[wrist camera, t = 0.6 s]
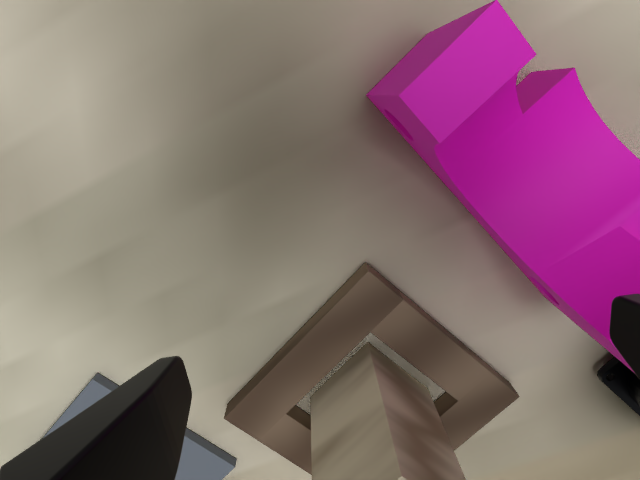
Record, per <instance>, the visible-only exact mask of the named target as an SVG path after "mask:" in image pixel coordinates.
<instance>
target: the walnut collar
mask: <svg viewBox="0 0 640 480" xmlns="http://www.w3.org/2000/svg"><path fill="white" fill-rule="evenodd" d="M370 332H371V333H372V334H374V335H375V336H376V337H377V338H379V339H380V340H381V341H382V342H384V343H385V344H386V345H388V346H389V347H390V348H391V349H393V350H394V351H395V352H396V353H398V354H399V355H400V356H402V357H403V358H404V359H405V360H407V361H408V362H409V363H410V364H412V365H413V366H414V367H416V368H417V369H418V370H419V371H421V372H422V373H423V374H424V375H426V376H427V377H428V378H430V379H431V380H432V381H433V382H435V383H436V384H437V385H438V386H440V387H441V388H442V389H444V390H445V391H446V393H444V394H443V395H442V396H441V397H440V398H439V399H438V400H436V401H435V402H434V405H435V407H436V409H437V412H438V414H439V417H440V419H441V421H442V424H443V426H444V429H445V431H446V433H447V436H448V438H449V441H450V443H451V445H452V448H453V450H455V449H457V448H458V447H459V446H460V445H461V444H463V443H464V442H465V441H466V440H468V439H469V438H470V437H471V436H472V435H474V434H475V433H476V432H477V431H478V430H480V429H481V428H482V427H483V426H484V425H486V424H487V423H488V422H489V421H491V420H492V419H493V418H494V417H495V416H497V415H498V414H499V413H500V412H501V411H503V410H504V409H505V408H506V407H507V406H509V405H510V404H511V403H512V402H514V401H515V400H516V399H517V398H518V397H520V396H519V395H518V394H517V392H516V391H515V389H514V388H513V387H512V385H511V384H510V383H509V382H508V381H507V380H506V379H505V378H503V377H502V376H501V375H500V374H499V373H497V372H496V371H495V370H494V369H493V368H491V367H490V366H489V365H488V364H487V363H485V362H484V361H483V360H482V359H481V358H479V357H478V356H477V355H476V354H475V353H473V352H472V351H471V350H470V349H469V348H467V347H466V346H465V345H464V344H463V343H461V342H460V341H459V340H458V339H457V338H456V337H454V336H453V335H452V334H451V333H450V332H448V331H447V330H446V329H445V328H444V327H442V326H441V325H440V324H439V323H438V322H436V321H435V320H434V319H433V318H432V317H430V316H429V315H428V314H427V313H426V312H424V311H423V310H422V309H421V308H420V307H418V306H417V305H416V304H415V303H414V302H412V301H411V300H410V299H409V298H408V297H406V296H405V295H404V294H403V293H402V292H401V291H399V290H398V289H397V288H396V287H395V286H393V285H392V284H391V283H390V282H389V281H387V280H386V279H385V278H384V277H383V276H381V275H380V274H379V273H378V272H377V271H375V270H374V269H373V268H372V267H371V266H369V265H368V264H367V263H366V262H365V263H364V264H363V265H362V266H361V267H360V268H359V269H358V270H357V271H356V273H355V274H354V275H353V276H352V277H351V278H350V279H349V280H348V281H347V282H346V283H345V284H344V285H343V286H342V287H341V288H340V289H339V290H338V291H337V292H336V293H335V294H334V295H333V296H332V297H331V298H330V299H329V300H328V301H327V302H326V303H325V304H324V305H323V306H322V307H321V308H320V309H319V311H318V312H317V313H316V314H315V315H314V316H313V317H312V318H311V319H310V320H309V321H308V322H307V323H306V324H305V325H304V326H303V327H302V328H301V329H300V330H299V331H298V332H297V333H296V334H295V335H294V336H293V337H292V338H291V339H290V340H289V341H288V342H287V343H286V344H285V345H284V346H283V347H282V349H281V350H280V351H279V352H278V353H277V354H276V355H275V356H274V357H273V358H272V359H271V360H270V361H269V362H268V363H267V364H266V365H265V366H264V367H263V368H262V369H261V370H260V371H259V372H258V373H257V374H256V375H255V376H254V377H253V378H252V379H251V380H250V381H249V382H248V383H247V384H246V385H245V387H244V388H243V389H242V390H241V391H240V392H239V393H238V394H237V395H236V396H235V397H234V398H233V399H232V400H231V401H230V402H229V403H228V404H227V408H226V412H225V416H224V419H226V420H227V421H229V422H230V423H232V424H233V425H235V426H236V427H238V428H239V429H241V430H243V431H244V432H246V433H247V434H249V435H250V436H252V437H253V438H255V439H257V440H258V441H260V442H261V443H263V444H264V445H266V446H267V447H269V448H271V449H272V450H274V451H275V452H277V453H278V454H280V455H281V456H283V457H285V458H286V459H288V460H289V461H291V462H292V463H294V464H295V465H297V466H299V467H300V468H302V469H303V470H305V471H306V472H308V473H309V474H311V475H312V460H311V416H310V415H309V414H307V413H306V412H304V411H303V410H301V409H300V408H298V407H297V406H295V405H296V404H297V403H298V402H299V401H300V400H301V399H302V398H303V397H304V396H305V395H306V394H307V393H308V392H309V391H310V390H311V389H312V388H313V387H314V386H315V385H316V384H317V383H318V382H319V381H320V380H321V379H322V378H323V377H324V376H325V375H326V374H328V373H329V372H330V371H331V370H332V369H333V368H334V367H335V366H336V365H337V364H338V363H339V362H340V361H341V360H342V359H343V358H344V357H345V356H346V355H347V354H348V353H349V352H350V351H351V350H352V349H353V348H354V347H355V346H356V345H357V344H358V343H359V342H361V341H362V340H363V339H364V338H365V337H366V336H367V335H368V334H369V333H370Z"/></svg>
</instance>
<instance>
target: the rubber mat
mask: <svg viewBox="0 0 640 480" xmlns="http://www.w3.org/2000/svg"><path fill="white" fill-rule="evenodd" d="M117 387H119V386H118V385H116V384H115V383H113V382H112V381H110V380H108V379H107V378H105V377H104V376H102V375H100V374H99V373H97V374H96V375H95V376H94V377H93V379H92V380H91V381H90V382H89V383H88V385H87V386H86V387H85V388H84V389H83V390H82V392H81V393H80V394H79V395H78V396H77V398H76V399H75V400H74V401H73V402H72V404H71V405H70V406H69V407H68V408H67V409H66V411H65V412H64V413H63V414H62V415H61V417H60V418H59V419H58V420H57V421H56V423H55V424H54V425H53V426H52V427H51V428H50V430H49V431H48V432H47V433H46V434H45V436H47V435H48V434H50V433H51V432H53V431H54V430H56V429H57V428H59V427H60V426H62V425H63V424H65V423H66V422H67V421H69V420H70V419H72V418H73V417H75V416H76V415H78V414H79V413H81V412H82V411H84V410H85V409H87V408H88V407H90V406H91V405H92V404H94V403H95V402H97V401H98V400H100V399H101V398H103V397H104V396H106V395H107V394H109V393H110V392H112V391H113V390H115V389H116V388H117ZM45 436H44V437H45ZM44 437H43V438H44ZM235 465H236V458H234V457H233V456H231V455H229V454H228V453H226V452H224V451H223V450H221V449H220V448H218V447H216V446H215V445H213V444H212V443H210V442H208V441H207V440H205V439H204V438H202V437H200V436H199V435H197V434H195V433H194V432H192V431H191V430H189V429H187V428H186V431H185V436H184V442H183V447H182V452H181V457H180V462H179V466H178V470H177V474H176V477H175V480H222V479H223V478H224V477H225V476H226V475H227V474H228V473H229V472H230V471H231V470H232V469H233V468H234V467H235Z"/></svg>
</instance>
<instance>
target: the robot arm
mask: <svg viewBox="0 0 640 480" xmlns="http://www.w3.org/2000/svg"><path fill="white" fill-rule="evenodd" d="M609 333H610V338H611V341H612V343H613V344H614V346H615V347H616V349H617V350H618V351H619V353H620V354H621V355H622V357H623V358H624V359H625V361H626V362H627V363H628V365H629V366H630V367H631V369H632V370H633V371H634V372H633V371H631V370H630V369H629V368H628V367H627V366H625V365H624V364H623V363H622V362H621V361H620V360H618V359H617V358H616V357H614V358H613V359H612V360H610V361H609V362H608V363H607V364H605V365H604V366H603V367H602V368H601V369H600V370H599V371H598V373H597V376H598V378H599V379H600V380H601V381H602V382H603V383H604V384H605V385H606V386H608V387H609V388H610V389H611V390H612V391H613V392H614V393H615V394H616V395H617V396H619V397H620V398H621V399H622V400H623V401H624V402H625V403H626V404H627V405H628V406H629V407H631V408H632V409H633V410H634V411H635V412H636V413H637V414H638V415H639V416H640V294H628V295H621V296H617V297H615V298H614V299H613V301H612V305H611V317H610V329H609ZM608 374H609V375H608ZM607 375H608V376H607ZM191 399H192V391H191V386H190V383H189V379H188V376H187V373H186V369H185V366H184V363H183V360H182V359H181V358H180V357H179V356H173V357H166V358H161V359H159V360H157V361H156V362H154V363H153V364H151V365H150V366H148V367H147V368H145V369H144V370H142V371H141V372H140V373H138V374H137V375H135V376H134V377H132V378H131V379H129V380H128V381H126V382H125V383H123V384H122V385H120V386H119V387H117V388H116V389H115V390H113V391H112V392H110V393H109V394H107V395H106V396H104V397H103V398H101V399H100V400H98V401H97V402H95V403H94V404H92V405H91V406H90V407H88V408H87V409H85V410H84V411H82V412H81V413H79V414H78V415H76V416H75V417H73V418H72V419H70V420H69V421H67V422H66V423H65V424H63V425H62V426H60V427H59V428H57V429H56V430H54V431H53V432H51V433H50V434H48V435H47V436H45V437H44V438H42V439H41V440H40V441H38V442H37V443H35V444H34V445H32V446H31V447H29V448H28V449H26V450H25V451H23V452H22V453H20V454H19V455H18V456H16V457H15V458H13V459H12V460H10V461H9V462H7V463H6V464H4V465H3V466H2V467H1V469H0V480H175V477H176V474H177V470H178V466H179V462H180V457H181V452H182V447H183V442H184V436H185V431H186V426H187V421H188V415H189V410H190V405H191Z"/></svg>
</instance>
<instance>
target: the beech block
mask: <svg viewBox="0 0 640 480" xmlns="http://www.w3.org/2000/svg"><path fill="white" fill-rule="evenodd" d="M310 405H311V460H312V480H466V479H465V477H464V474H463V472H462V469H461V467H460V465H459V462H458V460H457V457H456V455H455V453H454V450H453V448H452V445H451V443H450V441H449V438H448V436H447V433H446V431H445V429H444V426H443V424H442V421H441V419H440V417H439V414H438V412H437V409H436V407H435V405H434V402H433V400H432V397H431V395H430V393H429V390H428V388H426V387H425V386H424V385H423V384H421V383H420V382H419V381H417V380H416V379H415V378H414V377H412V376H411V375H410V374H408V373H407V372H406V371H405V370H403V369H402V368H401V367H399V366H398V365H397V364H395V363H394V362H393V361H392V360H390V359H389V358H388V357H386V356H385V355H384V354H383V353H381V352H380V351H379V350H377V349H376V348H375V347H374V346H372V345H371V344H370V343H368V342H367V343H366V344H365V345H364V346H363V347H362V348H361V349H360V350H359V351H358V352H357V353H356V354H355V355H354V356H353V357H352V358H351V359H350V360H348V361H347V362H346V363H345V364H344V365H343V366H342V367H341V368H340V369H339V370H338V371H337V372H336V373H335V374H334V375H333V376H332V377H331V378H330V379H329V380H328V381H327V382H326V383H325V384H324V385H323V386H322V387H320V388H319V389H318V390H317V391H316V392H315V393H314V394H313V395H312V396H311V397H310Z"/></svg>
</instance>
